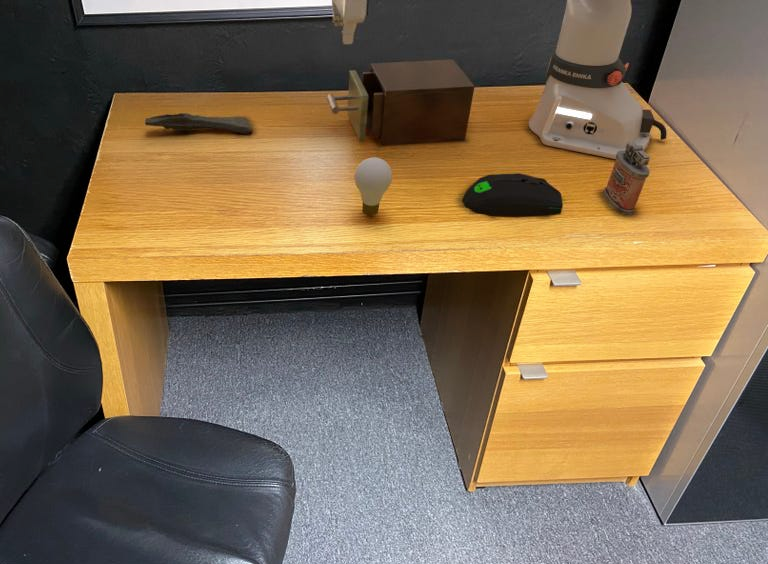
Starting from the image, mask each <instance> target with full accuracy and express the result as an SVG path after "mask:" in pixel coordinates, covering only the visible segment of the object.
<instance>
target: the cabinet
mask: <svg viewBox="0 0 768 564" xmlns="http://www.w3.org/2000/svg"><path fill="white" fill-rule="evenodd" d="M369 72H373V73H374V75H375V77H376V79H377V81H378V82H379V84H380V86H381V88H382V90H383V91H384V93H385V96H384V107H383V118H382V129H381V137H376V138H377V141H378V143H379V145H380V147H387V146H402V145H419V144H435V143H436V144H437V143H453V142H465V141H466V137H467V136H466V135H467V130H468V125H469V121H470V120H469V119H470V115H471V110H472V103H473V98H474V92H475V87H476V86H475V84H474V83H473V82H472V81H471V80H470V78H469V77H468V76H467V75H466V74H465V72H464V71H463V70H462V69H461V68H460V66H459V65H458V64H457V62H456V61H455V60H454V59H434V60H433V59H432V60H413V61H411V60H410V61H393V62H375V63H373V62H372V63H370V66H369Z"/></svg>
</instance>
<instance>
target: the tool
mask: <svg viewBox="0 0 768 564" xmlns="http://www.w3.org/2000/svg"><path fill="white" fill-rule="evenodd" d="M144 121H145V122H144V125H145V126H151V127H152V126H153V127H163V128H164V129H166V130H169V129H172V130H173V131H180V132H191V131H193V130H201V129H211V130H217V131H225V132H232V133H238V134H249V133H252V132H253V127H252V125H251V123H250V122H249V121H248V120H247V118H246V117H245V116H204V115H198V114H196V115H195V114H190V113H187V112H186V113H184V112H181V113H177V114H176V113H175V114H168V113H167V114H162V115H156V116H151V117H146V118H145V120H144Z"/></svg>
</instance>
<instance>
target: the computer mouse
mask: <svg viewBox="0 0 768 564" xmlns="http://www.w3.org/2000/svg"><path fill="white" fill-rule="evenodd" d="M461 202H462V203H463V206H464V207H465V208H467V209H469V210H470V211H472V212H474V213H476V214H480V215H486V216H492V217H503V218H504V217H505V218H524V217H525V218H527V217H543V216H544V217H546V216H554V215H561V213H562V210H563V206H564V203H563V198H562V193H561V191H559V190H558V189H557V188H555V187H554V186H553V185H552V184H550V183H549V182H548V181H547V179H545V178H542V177H536V176H532V175H529V174H522V173H519V172H517V173H493V174H488V175H485V176H480V177H479V178H478V179H477V180H476V181H475V182H474V183H472V185H470V186H469V187H468V188H467V189H466V191H465V192H464V195H463V197H462V199H461Z"/></svg>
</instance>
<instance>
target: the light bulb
mask: <svg viewBox="0 0 768 564" xmlns="http://www.w3.org/2000/svg"><path fill="white" fill-rule="evenodd" d="M392 182H393V172H392V168H391V167H390V165H389V163H387V161H385V160H384V159H382V158H379V157H376V156H375V157H368V158H366V159H364V160H362V161H361V162H360V163H359V164H358V165H357V167H356V169H355V172H354V183H355V186H356V188H357V189H358V191H359V193H360V198H361V201H362V210H361V211H362V212H361V213H363V214H364V215H365V216H367V217H374V216H376V215H377V214H378V213H379V211H380V210H379V209H380V204H381V201H382V199H383V196H384V195H385V193H386V192H387V190H388V189H389V188H390V186H391V184H392Z"/></svg>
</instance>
